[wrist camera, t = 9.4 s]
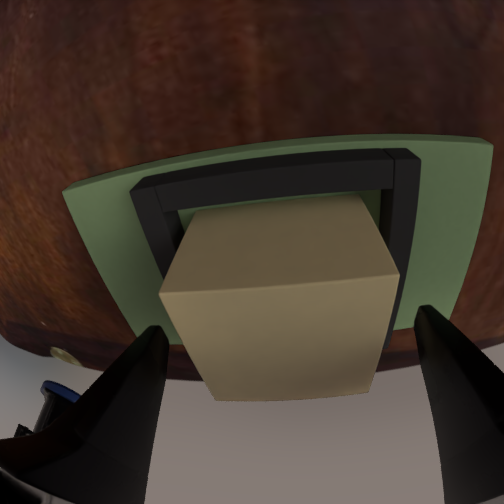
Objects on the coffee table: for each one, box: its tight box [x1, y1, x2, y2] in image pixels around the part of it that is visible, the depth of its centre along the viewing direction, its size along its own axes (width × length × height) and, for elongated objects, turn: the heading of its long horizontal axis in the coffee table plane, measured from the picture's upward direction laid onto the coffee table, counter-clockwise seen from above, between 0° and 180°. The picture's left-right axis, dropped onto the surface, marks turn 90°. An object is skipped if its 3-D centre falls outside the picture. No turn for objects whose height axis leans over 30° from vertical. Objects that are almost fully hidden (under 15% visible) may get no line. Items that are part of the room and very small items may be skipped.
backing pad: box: [62, 134, 493, 349], centre depth 12 cm, size 18×10×2 cm, turn 99°
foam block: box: [159, 194, 400, 401], centre depth 10 cm, size 6×6×4 cm
